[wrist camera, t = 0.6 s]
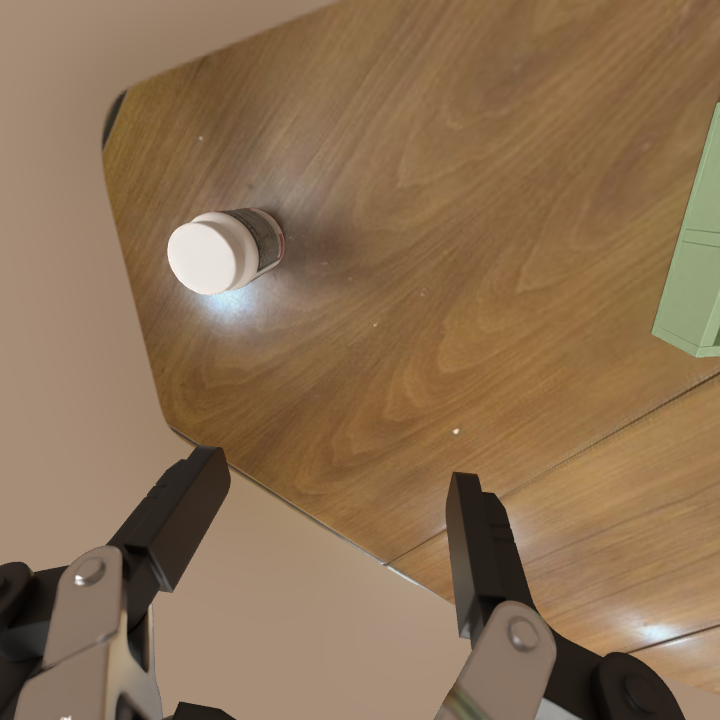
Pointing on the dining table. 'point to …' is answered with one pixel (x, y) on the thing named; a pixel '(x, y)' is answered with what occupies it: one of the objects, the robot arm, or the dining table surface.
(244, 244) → the pill bottle
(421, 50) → the dining table surface
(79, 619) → the robot arm
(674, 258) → the holder
